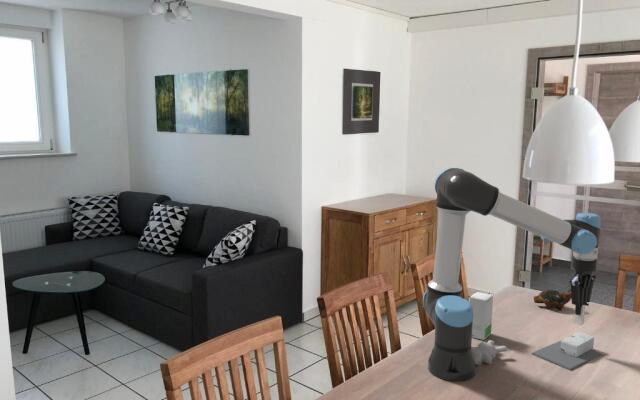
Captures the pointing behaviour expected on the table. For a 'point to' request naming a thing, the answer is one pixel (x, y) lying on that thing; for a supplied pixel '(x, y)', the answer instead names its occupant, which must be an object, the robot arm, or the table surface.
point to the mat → (564, 356)
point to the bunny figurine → (486, 352)
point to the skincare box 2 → (577, 344)
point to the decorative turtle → (553, 299)
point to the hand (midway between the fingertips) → (578, 322)
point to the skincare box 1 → (481, 315)
